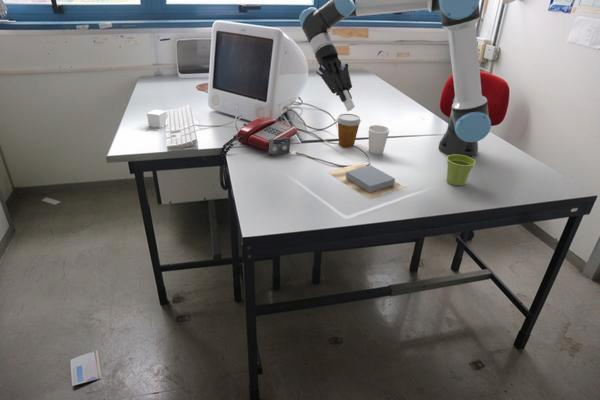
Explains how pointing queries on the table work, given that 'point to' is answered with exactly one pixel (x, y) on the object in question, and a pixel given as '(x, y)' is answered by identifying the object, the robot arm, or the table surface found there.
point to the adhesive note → (157, 118)
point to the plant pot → (458, 168)
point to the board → (341, 176)
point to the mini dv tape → (279, 145)
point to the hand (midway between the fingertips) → (351, 108)
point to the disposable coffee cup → (347, 129)
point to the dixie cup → (377, 138)
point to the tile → (370, 178)
